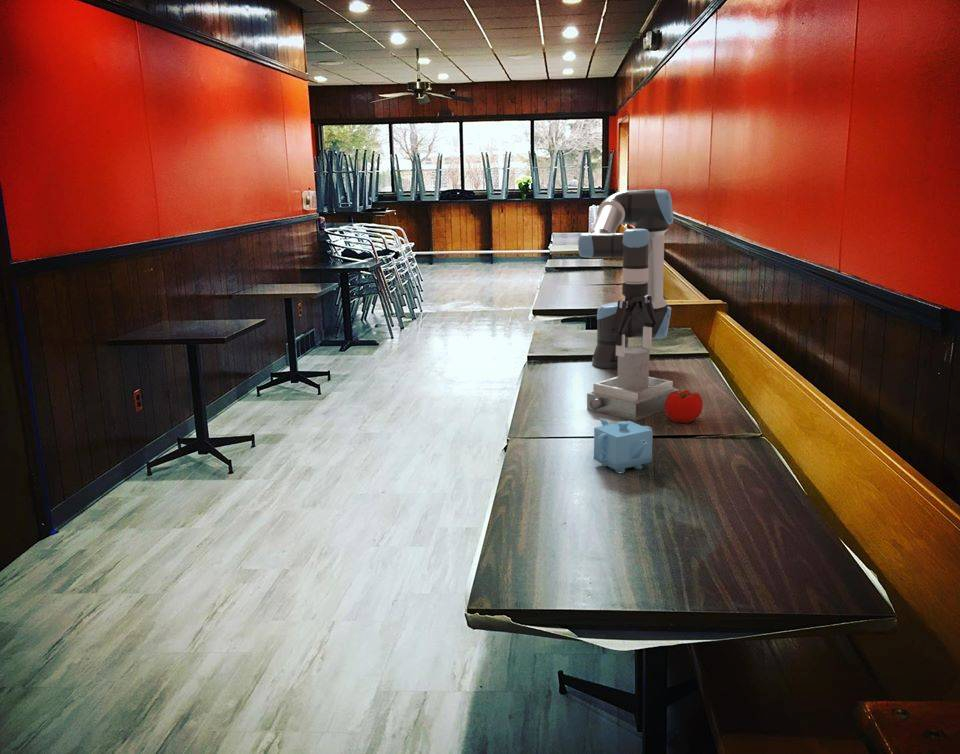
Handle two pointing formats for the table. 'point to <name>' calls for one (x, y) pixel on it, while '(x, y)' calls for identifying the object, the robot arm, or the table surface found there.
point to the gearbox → (629, 398)
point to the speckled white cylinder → (634, 369)
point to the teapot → (623, 445)
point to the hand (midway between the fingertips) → (633, 351)
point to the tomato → (683, 406)
